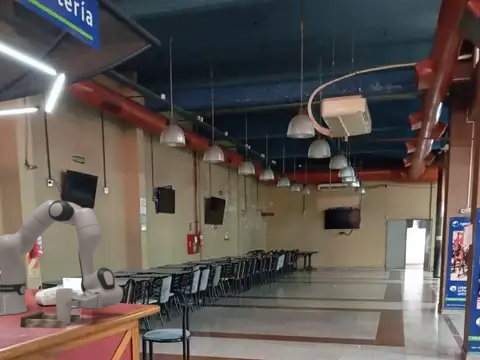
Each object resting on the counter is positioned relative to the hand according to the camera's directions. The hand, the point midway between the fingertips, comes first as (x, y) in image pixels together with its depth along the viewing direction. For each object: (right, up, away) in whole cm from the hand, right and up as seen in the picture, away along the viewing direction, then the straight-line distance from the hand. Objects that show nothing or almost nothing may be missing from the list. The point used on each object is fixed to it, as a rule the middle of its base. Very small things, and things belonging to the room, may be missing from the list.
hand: (62, 303), depth 196 cm
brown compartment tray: (-5, -9, +1) cm, 11 cm away
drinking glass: (+1, -9, 0) cm, 9 cm away
